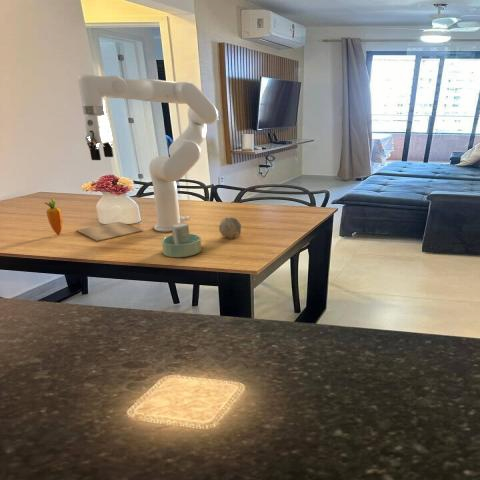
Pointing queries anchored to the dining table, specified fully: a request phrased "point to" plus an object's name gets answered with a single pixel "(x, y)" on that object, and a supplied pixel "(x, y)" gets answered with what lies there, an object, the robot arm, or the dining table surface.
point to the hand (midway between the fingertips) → (102, 158)
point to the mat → (108, 231)
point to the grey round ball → (230, 227)
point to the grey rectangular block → (180, 234)
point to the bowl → (181, 246)
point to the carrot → (54, 217)
